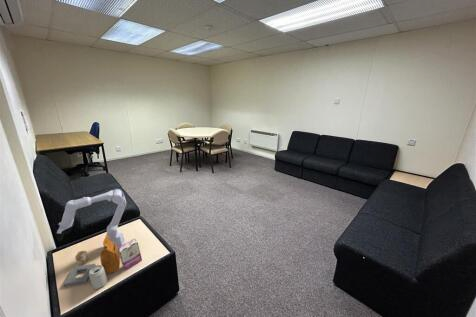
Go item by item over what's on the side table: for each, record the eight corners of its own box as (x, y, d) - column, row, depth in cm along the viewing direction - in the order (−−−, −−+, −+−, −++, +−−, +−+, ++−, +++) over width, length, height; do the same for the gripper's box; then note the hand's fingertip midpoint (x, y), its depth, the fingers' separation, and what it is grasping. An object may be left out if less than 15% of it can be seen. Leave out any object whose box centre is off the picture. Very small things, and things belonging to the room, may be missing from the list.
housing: (96, 266, 133) (95, 263, 132) (87, 283, 122) (86, 280, 121) (75, 269, 131) (74, 266, 130) (64, 286, 120) (63, 283, 119)
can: (97, 292, 117) (91, 277, 112) (90, 285, 121) (85, 271, 116) (110, 281, 123) (105, 267, 118) (103, 275, 126) (99, 261, 122)
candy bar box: (139, 256, 141) (135, 237, 135) (142, 260, 137) (138, 241, 131) (122, 266, 133) (116, 247, 127) (125, 270, 130) (119, 251, 124)
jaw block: (88, 258, 139) (86, 250, 136) (85, 263, 135) (82, 255, 132) (81, 259, 138) (78, 251, 135) (78, 264, 134) (75, 256, 131)
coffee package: (122, 256, 140) (116, 231, 132) (120, 271, 129) (112, 245, 121) (106, 260, 137) (98, 235, 129) (102, 276, 126) (93, 249, 118)
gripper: (67, 211, 135) (62, 228, 137) (53, 222, 121) (48, 242, 123) (79, 213, 137) (74, 231, 139) (66, 225, 123) (61, 244, 125)
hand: (62, 236), depth 131 cm, fingers open, 7 cm apart
